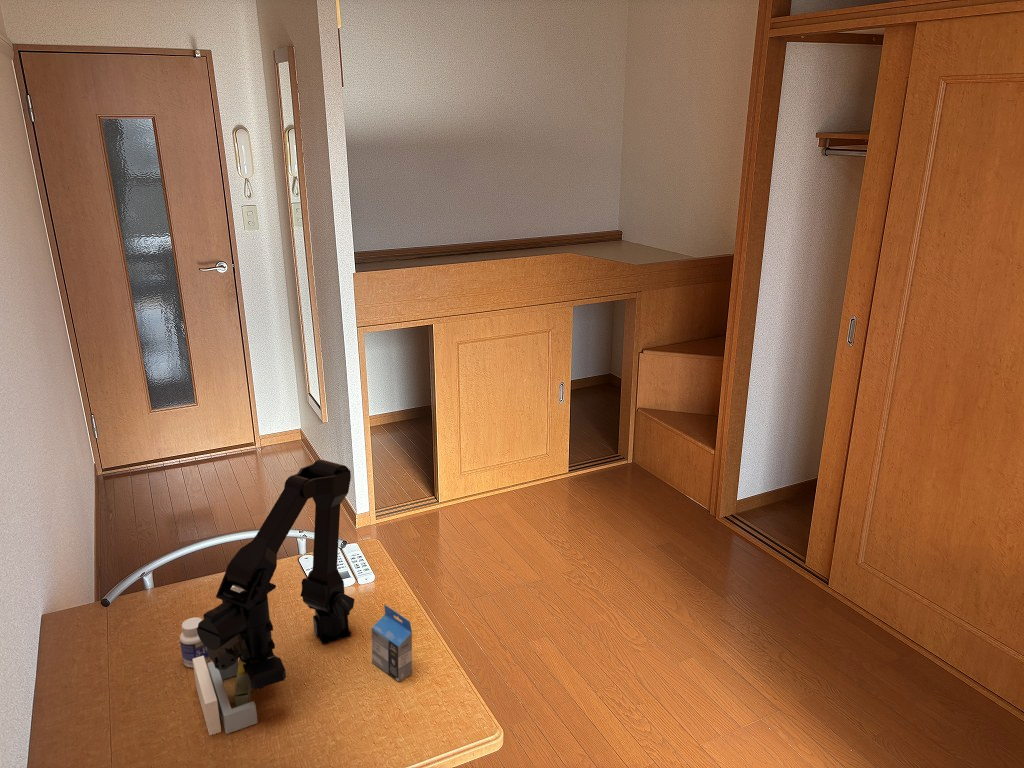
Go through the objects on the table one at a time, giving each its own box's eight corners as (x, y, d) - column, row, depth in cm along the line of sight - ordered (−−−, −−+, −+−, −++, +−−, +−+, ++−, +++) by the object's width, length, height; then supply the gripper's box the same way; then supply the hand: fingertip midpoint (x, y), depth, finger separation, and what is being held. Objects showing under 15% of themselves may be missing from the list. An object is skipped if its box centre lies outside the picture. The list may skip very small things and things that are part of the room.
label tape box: (371, 662, 154) (368, 611, 151) (386, 653, 157) (384, 603, 153) (398, 683, 149) (396, 630, 145) (414, 673, 152) (412, 621, 148)
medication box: (249, 712, 141) (248, 694, 140) (234, 714, 140) (233, 697, 139) (254, 670, 152) (252, 653, 151) (240, 672, 151) (238, 655, 150)
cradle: (238, 670, 151) (236, 654, 150) (257, 723, 138) (255, 705, 137) (209, 679, 149) (207, 663, 147) (226, 734, 135) (223, 716, 134)
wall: (207, 685, 147) (203, 655, 145) (221, 731, 136) (217, 700, 134) (196, 688, 146) (192, 658, 144) (209, 735, 135) (205, 704, 133)
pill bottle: (201, 670, 151) (196, 633, 149) (177, 666, 152) (172, 629, 150) (216, 653, 156) (211, 617, 154) (193, 649, 157) (188, 613, 155)
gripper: (199, 605, 144) (208, 672, 149) (217, 661, 129) (227, 734, 134) (258, 589, 150) (265, 654, 155) (283, 641, 135) (289, 712, 139)
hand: (261, 687), depth 145 cm, fingers closed
